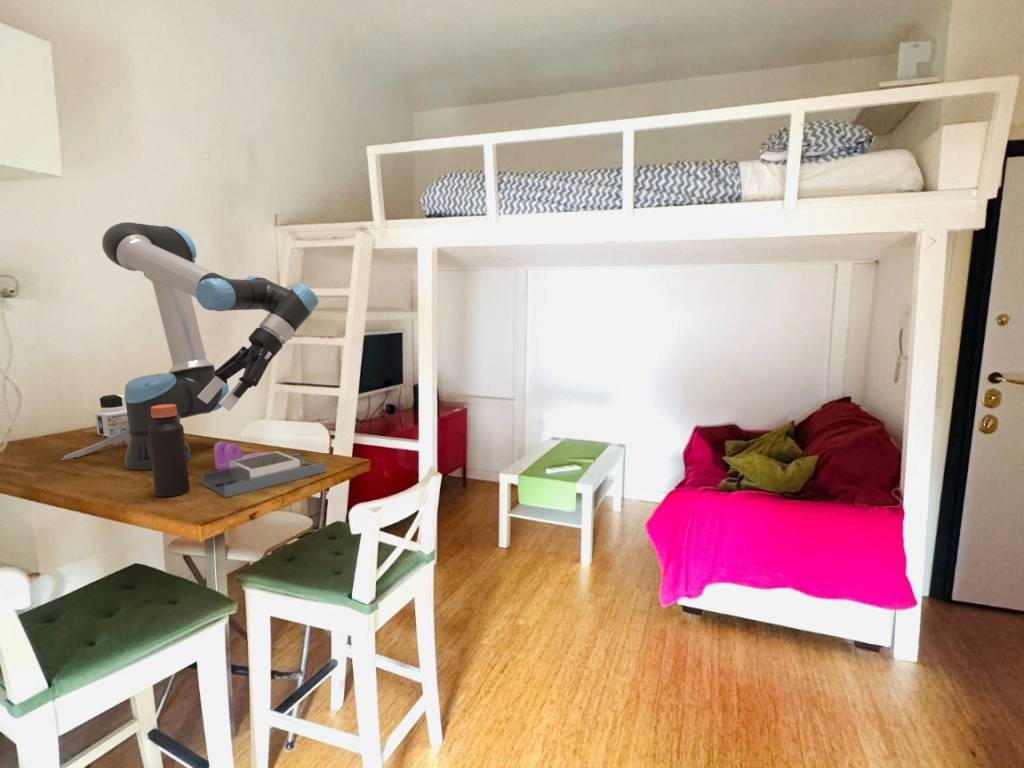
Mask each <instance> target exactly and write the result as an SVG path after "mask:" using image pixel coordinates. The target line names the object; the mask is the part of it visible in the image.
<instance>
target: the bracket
mask: <svg viewBox="0 0 1024 768" xmlns="http://www.w3.org/2000/svg"><path fill="white" fill-rule="evenodd" d="M265 453H266V452H254V453H249V454H246V455H242V447H241V445H240V444H238V443H234V442H231V443H229V442H227V441H218V442H216V443H215V444H214V447H213V454H214V465H215V466H214V467H215V469H216V470H220V469H221V470H223V469H227V468H229V461H232V460H237V459H242V458H246V457H251V456H256V455H261V454H265Z"/></svg>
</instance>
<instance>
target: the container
mask: <svg viewBox="0 0 1024 768" xmlns="http://www.w3.org/2000/svg"><path fill="white" fill-rule="evenodd" d="M99 404H100V410H101V411H96V412H94V415H95V423H96V424H95V425H96V429H97V435H98V434H99V435H103V436H102V437H104V436H107V437H106V438H108V437H111V436H113V435H116V434H118V433H121V432H123V431H125V432H126V430H125V428H124V427H126V428H128V426H129V425H128V416H127V408H126V402H125V395H122V394H109V395H107V394H106V395H103V396H101V397H100V398H99ZM99 435H98V436H99Z"/></svg>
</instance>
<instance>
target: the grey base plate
mask: <svg viewBox="0 0 1024 768" xmlns="http://www.w3.org/2000/svg"><path fill="white" fill-rule="evenodd" d="M264 453H265V454H261V455H256V456H251V457H246V458H242V459H237V460H232V461H229V468H227V469H223V470H220V469H217V470H214V471H210V472H204V473H201V483H202V485H203V486H205V487H206V488H209V489H210V490H211V491H213V492H214V493H217V494H218V493H219V494H218V495H220V496H222V497H223V496H224V498H225V497H227V498H230V496H231V497H235V496H239V495H242V493H243V494H246V492H247V493H250V492H254V491H258V490H262V488H263V489H266V488H270V487H274V486H277V484H278V485H282V484H285V482H286V483H290V482H294V481H297V479H298V480H301V478H302V479H305V478H304V477H306V478H308V476H310V477H312V476H311V475H314V476H316V475H315V474H318V473H322V472H325V471H326V463H325V462H322V461H321V462H318V463H312V462H309V461H306V460H303V459H301V453H299V452H296V453H292V454H286V453H283V452H281V451H277V450H275V451H271V452H264ZM322 474H323V473H322ZM318 475H319V474H318ZM293 480H294V481H293ZM281 483H282V484H281ZM273 485H274V486H273ZM269 486H270V487H269ZM265 487H266V488H265ZM238 494H239V495H238ZM234 495H235V496H234Z"/></svg>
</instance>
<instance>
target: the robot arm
mask: <svg viewBox="0 0 1024 768" xmlns="http://www.w3.org/2000/svg"><path fill="white" fill-rule="evenodd" d="M101 239H102V240H101V241H102V242H101V246H102V250H103V252H104V254H105V256H106V257H107V258H108V259H109V260H110V261H111V262H112V263H113V264H115V265H117V266H119V267H120V268H124V269H125V270H127V271H131V272H141V273H143V275H144V277H145V279H147V280H149V281H151V283H152V287H153V290H154V294H155V297H156V299H155V300H156V303H157V305H158V310H159V314H160V318H161V323H162V326H163V327H162V328H163V330H164V334H165V338H166V339H165V340H166V343H167V346H168V351H169V355H170V359H171V362H172V366H171V368H170V369H169V370H168V372H164V373H163V372H162V373H155V374H147V375H143V376H139V377H136V378H135V377H134V378H133V379H131V380H129V381H128V382H127V383H126V384H125V386H124V399H125V409H126V410H127V416H128V425H129V433H130V436H129V443H128V445H127V449H126V450H125V454H124V466H125V468H126V469H128V470H133V471H145V470H146V471H147V470H149V471H151V470H152V462H151V453H150V444H149V435H148V430H149V428H150V427H151V426H152V425H153V424H154V420H153V419H152V418H153V417H152V416H151V407H152V406H157V405H164V404H175V405H176V406H177V417H176V421H177V422H179V423H180V424H181V419H185V418H190V417H194V416H199V415H205V414H209V413H212V412H215V411H217V410H220V409H221V408H222V407H223V408H225V409H226V410H227V411H229V412H230V411H231V410H232V408H234V407H235V405H236V404H237V403H238V402H239V401H240V399H241V398H242V397H243V396H244V395H245V394H246V392H247V391H248V390H249V389H251V388H252V387H254V388H255V387H257V386H258V385H259V384H260V381H261V379H262V377H263V375H264V374H265V371H266V369H267V368H268V366H269V365H270V362H271V361H272V360H273V358H274V357H275V356H276V355H278V353H280V351H281V350H282V349H283V345H285V344H287V342H288V341H290V340H292V337H293V335H294V334H295V333H296V331H297V330H298V329H299V327H301V325H302V324H303V323H304V322H305V321H306V320H307V319H308V318H309V317H310V315H312V313H313V312H314V310H315V308H316V307H317V306H318V304H319V298H318V296H317V294H316V293H315V292H314V291H313V290H312V289H311V288H309V287H308V286H306V285H304V284H302V283H295V284H294V285H293V286H292V287H290V288H287V287H284V286H281V285H279V284H278V283H275V282H273V281H271V280H269V279H267V278H265V277H261V276H258V275H249V276H248V277H246V278H244V279H238V278H237V279H235V278H234V279H233V278H228V277H225V276H222V275H220V274H218V273H216V272H214V271H212V270H209V269H208V268H206V267H204V266H201V265H198V264H196V258H197V249H196V246H195V244H194V242H193V239H192V238H191V236H189V235H188V234H187V233H186V232H185V231H183V230H181V229H179V228H174V227H170V226H168V225H167V226H166V225H163V226H161V225H155V224H154V225H153V224H145V223H137V222H132V221H131V222H128V221H126V222H120V223H116V224H113V225H111V226H110V227H109V228H108V229H107V230H106V231H105V233H104V234H103V236H102V238H101ZM192 297H194V298H196V300H197V302H198V303H199V305H200V307H202V308H203V309H205V310H207V311H215V312H225V311H251V310H256V311H257V310H258V311H259V310H263V311H265V312H267V313H268V314H267V315H266V317H265V318H264V319H263V320H262V321H261V322H259V325H258V327H256V328H255V329H254V330H253V332H252V333H251V334H250V335H249V336H248V341H249V343H250V344H251V345H250V346H248V347H246V346H243V345H242V346H241V348H240V349H238V351H237V352H236V353H235V354H233V356H231V357H230V358H229V359H228V360H226V361H225V362H224V363H223V364H222V365H221V366H220V367H218V368H217V369H215V365H214V364H213V363H212V362H210V361H209V360H208V359H207V356H206V353H205V347H204V344H203V339H202V334H201V330H200V327H199V324H198V319H197V315H196V311H195V306H194V303H193V298H192ZM243 369H244V371H243V375H242V376H241V377H239V378H238V380H237V382H235V384H234V385H233V386H232V387H231V389H230V390H229V383H228V379H230V378H231V377H233V376H235V375H236V374H237V373H239V372H240V371H242V370H243ZM185 448H186V458H187V462H188V461H190V460H191V459H192V454H191V448H190V447H189V445H188V442H187V441H186V440H185Z"/></svg>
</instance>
